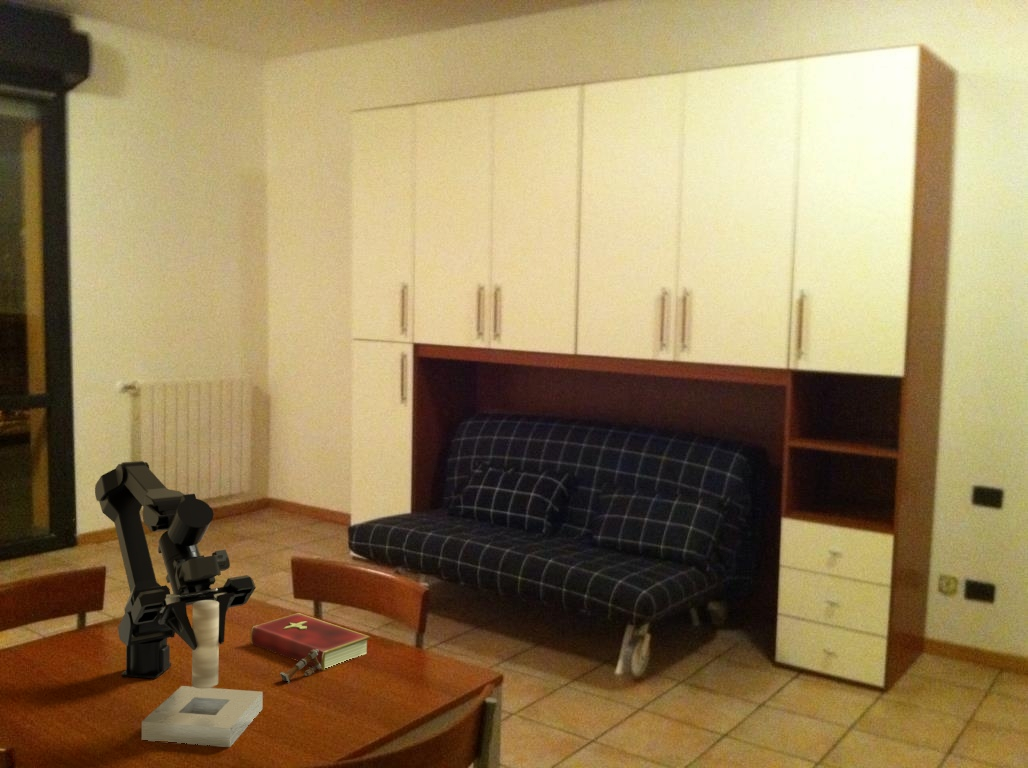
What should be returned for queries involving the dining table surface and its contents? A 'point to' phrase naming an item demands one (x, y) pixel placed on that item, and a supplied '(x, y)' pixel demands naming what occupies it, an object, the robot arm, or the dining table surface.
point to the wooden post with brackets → (301, 664)
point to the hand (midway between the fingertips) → (208, 645)
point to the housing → (203, 716)
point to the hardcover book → (309, 639)
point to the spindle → (205, 644)
